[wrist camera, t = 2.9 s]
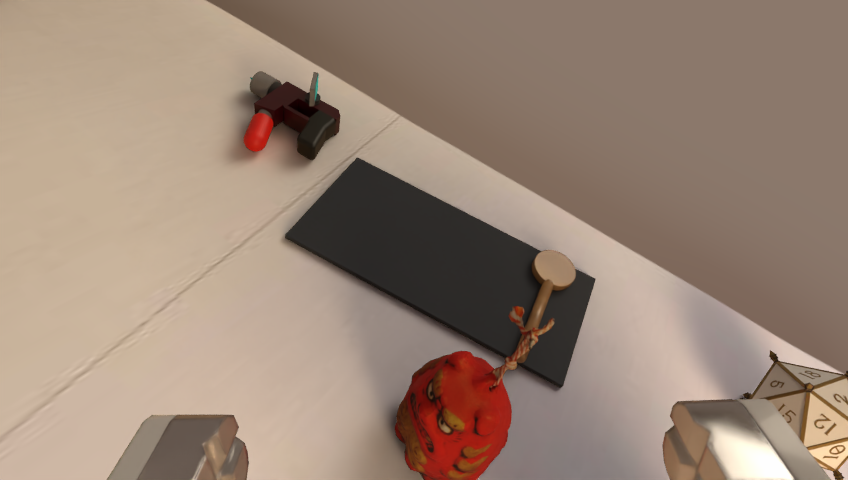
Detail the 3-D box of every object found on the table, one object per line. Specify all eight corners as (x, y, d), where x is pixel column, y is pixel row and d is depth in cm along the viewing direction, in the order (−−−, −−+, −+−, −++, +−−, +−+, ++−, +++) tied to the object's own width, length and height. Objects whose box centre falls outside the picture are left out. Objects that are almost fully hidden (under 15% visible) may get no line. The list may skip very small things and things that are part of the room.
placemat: (285, 238, 43) (284, 234, 42) (356, 160, 50) (357, 157, 50) (560, 388, 39) (563, 386, 39) (593, 281, 47) (595, 278, 46)
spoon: (538, 376, 39) (543, 371, 38) (493, 351, 40) (497, 346, 39) (576, 267, 47) (581, 261, 46) (538, 247, 47) (542, 241, 47)
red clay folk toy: (376, 402, 36) (416, 297, 24) (458, 369, 39) (530, 260, 27) (421, 511, 32) (494, 449, 20) (508, 465, 35) (616, 387, 23)
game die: (732, 420, 45) (818, 340, 42) (824, 508, 39) (932, 421, 36) (689, 407, 40) (783, 315, 37) (787, 506, 33) (910, 404, 31)
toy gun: (261, 80, 54) (258, 40, 51) (351, 131, 53) (356, 93, 49) (193, 123, 48) (185, 81, 45) (293, 181, 47) (293, 143, 43)
